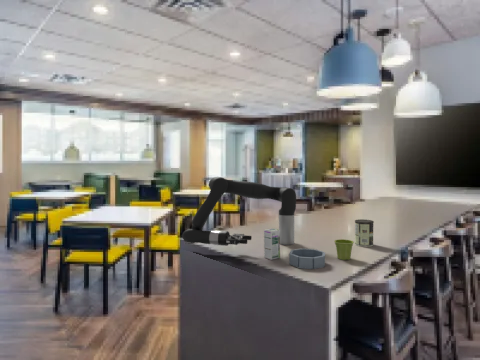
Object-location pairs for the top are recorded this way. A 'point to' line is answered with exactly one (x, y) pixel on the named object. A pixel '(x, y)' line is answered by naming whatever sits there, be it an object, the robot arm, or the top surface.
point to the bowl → (307, 258)
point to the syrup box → (272, 243)
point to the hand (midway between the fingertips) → (249, 239)
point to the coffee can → (364, 233)
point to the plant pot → (343, 248)
